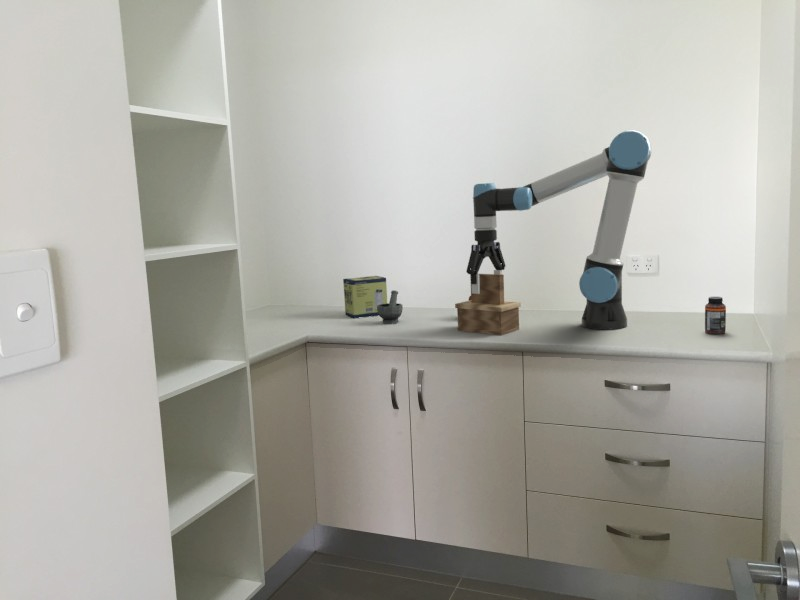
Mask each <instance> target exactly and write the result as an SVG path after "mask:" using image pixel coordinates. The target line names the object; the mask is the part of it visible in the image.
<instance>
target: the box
mask: <svg viewBox="0 0 800 600" xmlns="http://www.w3.org/2000/svg"><path fill="white" fill-rule="evenodd" d="M456 309H457V310H456V312H457V331H459V332H470V333H477V334H487V335H497V336H503V335H506V334H509V333H513V332H516V331H519V330H520V315H519V314H520V312H519V311H520V310H519V309H520V307H518V308H514V309H510V310H506V311H503V312H497V311H485V310H472V309H460V308H456Z"/></svg>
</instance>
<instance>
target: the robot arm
mask: <svg viewBox="0 0 800 600" xmlns="http://www.w3.org/2000/svg"><path fill="white" fill-rule="evenodd" d="M651 155H652V145H651V142H650V140H649V138H648V137H647V136H646V134H644V133H642V132H640V130H639V131H637V130H630V129H629V130H624V131H622V132H620V133H619V134H617V135H616V136H615V137H613V139H612V140H611V142H610V144H609V146H608V147H605V148H603V150H602V152H601V153H600V154H599V153H598V154H597V155H594V156H592V157H589V158H588V159H585V160H583V161H580V162H578V163H576V164H574V165H571V166H568V167H567V168H566V167H565V168H563V169H562V170H559V171H557V172H555V173H552V174H550V175H547V176H544V177H543V178H541V179H538V180H536V181H533V182H531V183H528V184H525V185H524V186H519V187H508V188H507V187H505V188H497V187H496V184H495V182H489V183H488V182H487V183H476V184H474V185H473V194H472V195H473V196H472V199H473V201H472V202H473V203H472V204H473V217H474V219H473V220H474V221H473V223H474V225H473V226H474V227H473V228H474V229H475V231H473V232H474V241H475V242H477V244H471V247H470V248H471V251H470V255H469V259H468V263H467V267H466V273H467V275H470V274H471V279H470V285H471V284H472V293H473V294H480V284H479V274H480V273H479V271H480V268H481V266H482V264H483V262H484V259H486V258H489V260H490V261H491V264H492V265H493V267H494V269H493V274H501V275H503V274H502V273H503V272H502V271H505V268H506V267H507V266H506V263H505V258H504V256H503V253H502V249H501V243H500V241H497V239H498V237H497V236H498V235H497V233H498V231H497V229H496V228H497V212H506V211H507V212H508V211H509V212H511V211H519V212H520V211H521V212H522V211H528V210H530V209H531V208H532V207H534V206H536V205H539V204H540V203H543V202H545V201H548V200H551V199H553V198H555V197H558V196H560V195H562V194H565V193H568V192H570V191H572V190H575V189H578V188H580V187H583V186H585V185H587V184H589V183H592V182H596V181H597V180H600V179H602V178H604V177H608V182H607V188H606V192H605V196H604V200H603V201H604V202H603V206H602V211H601V214H600V219H599V224H598V227H597V232H596V237H595V241H594V246H593V250H592V253H591V254H589V255H587V256H586V257H585V263H584V267H583V273H581V276H580V278H579V281H578V282H579V283H578V284H579V285H578V286H579V290H580V293H581V294H582V296H583V297H584V298H585V299H586V304H585V308H584V311H583V313H582V316H581V326H582V327H583V328H586V329H587V328H588V329H592V330H593V329H594V330H615V329H616V330H617V329H624V328H626V327H628V317H627V315H626V312H625V309H624V306H623V301H622V300H623V286H622V285H623V281H622V280H623V279H622V277H623V275H622V274H623V273H622V272H623V268H624V263H623V261H622V259H621V255H622V250H623V247H624V242H625V238H626V234H627V229H628V226H629V221H630V217H631V212H632V208H633V204H634V199H635V195H636V190H637V187H638V183H640V182H641V181H643V179H645V175H646V170H647V166H648V163H649V160H650V159H651Z"/></svg>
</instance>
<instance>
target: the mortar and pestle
mask: <svg viewBox="0 0 800 600" xmlns="http://www.w3.org/2000/svg"><path fill="white" fill-rule="evenodd" d="M398 294H399V291H398V290H391V292H390V298H389V303H388V302H387V304H380V305H377V311H378V314H379V317H380V318H381V319H382V322H381V323H382V325H396V324H398V323H399V318H400V317H401V315H402V313H403V309H404V308H403V304H402V303H398V302H397V300H398Z"/></svg>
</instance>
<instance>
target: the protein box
mask: <svg viewBox="0 0 800 600" xmlns="http://www.w3.org/2000/svg"><path fill="white" fill-rule="evenodd" d="M342 281H343V294H344V295H343V296H344V313H345V316H346V315H347V317H349V316H350V318H352V319H360V318H359V317H363V318H370V317H369V316H371V317H378V315H379V314H378V311H377V305H380V304H387V303H388V291H387V289H388V288H387V278H386V277H384V276H379V275H371V276H361V277H353V278H351V277H350V278H349V277H347V278H343V280H342Z"/></svg>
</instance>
